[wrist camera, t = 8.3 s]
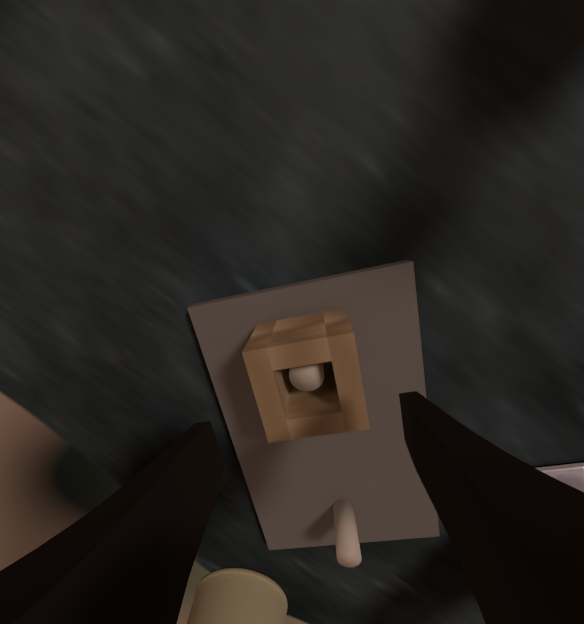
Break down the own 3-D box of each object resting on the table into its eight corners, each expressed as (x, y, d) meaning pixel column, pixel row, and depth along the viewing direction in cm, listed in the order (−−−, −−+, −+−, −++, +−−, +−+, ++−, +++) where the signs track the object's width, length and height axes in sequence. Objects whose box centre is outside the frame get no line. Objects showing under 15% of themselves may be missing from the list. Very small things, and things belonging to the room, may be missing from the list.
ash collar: (343, 307, 16) (353, 332, 12) (356, 384, 17) (370, 429, 13) (257, 323, 16) (241, 352, 13) (277, 397, 18) (268, 442, 14)
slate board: (407, 259, 17) (444, 271, 12) (434, 523, 22) (465, 598, 18) (193, 303, 18) (154, 328, 14) (270, 537, 24) (261, 609, 20)
